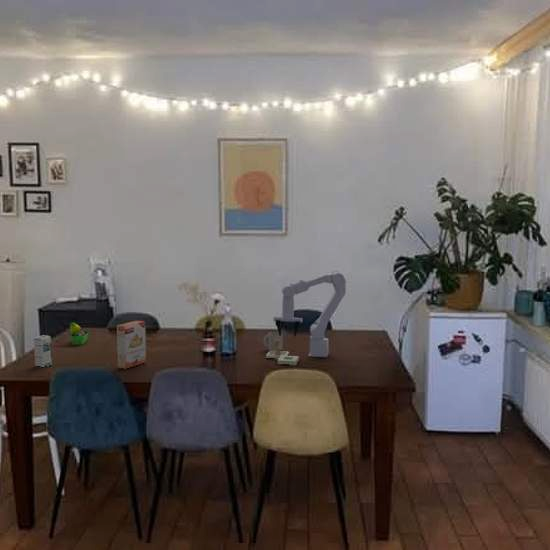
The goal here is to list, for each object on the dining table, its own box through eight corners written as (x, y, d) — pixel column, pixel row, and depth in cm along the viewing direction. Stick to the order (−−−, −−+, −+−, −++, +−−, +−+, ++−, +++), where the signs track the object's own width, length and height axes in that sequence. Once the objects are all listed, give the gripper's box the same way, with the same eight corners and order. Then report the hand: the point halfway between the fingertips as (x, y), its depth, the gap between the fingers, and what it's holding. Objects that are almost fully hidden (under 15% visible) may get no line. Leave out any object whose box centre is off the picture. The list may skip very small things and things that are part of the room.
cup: (281, 352, 355) (281, 335, 353) (262, 351, 357) (262, 334, 355) (283, 348, 362) (283, 332, 360) (265, 347, 364) (265, 331, 362)
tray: (289, 355, 349) (289, 351, 349) (285, 359, 340) (285, 356, 340) (269, 354, 351) (269, 350, 351) (266, 358, 342) (266, 355, 342)
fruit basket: (83, 345, 371) (82, 324, 369) (67, 345, 371) (66, 324, 370) (90, 340, 382) (89, 320, 381) (74, 340, 382) (73, 320, 381)
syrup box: (43, 368, 327) (42, 338, 325) (34, 366, 330) (33, 337, 328) (52, 365, 332) (51, 335, 330) (44, 363, 335) (42, 334, 333)
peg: (281, 355, 346) (281, 339, 345) (278, 356, 343) (278, 341, 342) (276, 354, 347) (276, 339, 346) (273, 356, 345) (273, 340, 344)
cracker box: (126, 370, 323) (125, 326, 320) (117, 368, 327) (115, 325, 324) (147, 363, 335) (145, 321, 332) (137, 361, 338) (136, 319, 335)
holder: (298, 360, 339) (298, 356, 339) (295, 365, 330) (295, 361, 330) (280, 359, 341) (280, 355, 340) (277, 364, 332) (277, 360, 332)
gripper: (303, 308, 347) (303, 334, 349) (275, 307, 349) (275, 333, 351) (301, 311, 340) (301, 337, 342) (272, 309, 342) (272, 336, 344)
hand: (287, 335), depth 346 cm, fingers open, 7 cm apart
